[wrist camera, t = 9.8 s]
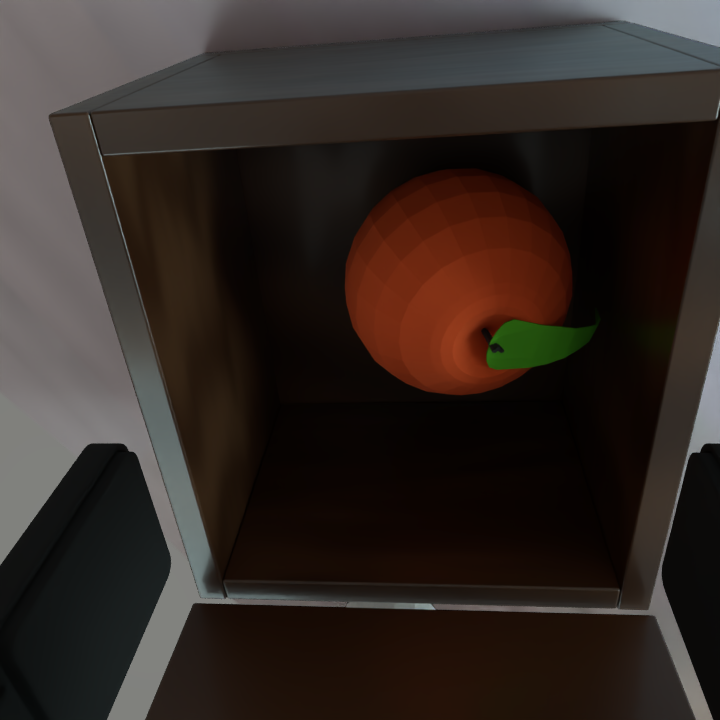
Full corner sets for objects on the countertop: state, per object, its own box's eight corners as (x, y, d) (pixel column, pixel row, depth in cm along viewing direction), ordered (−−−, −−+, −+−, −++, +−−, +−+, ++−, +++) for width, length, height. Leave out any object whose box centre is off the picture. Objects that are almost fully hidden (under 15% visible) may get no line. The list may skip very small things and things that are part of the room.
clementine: (571, 152, 22) (701, 245, 16) (509, 323, 26) (596, 445, 20) (345, 123, 20) (404, 219, 14) (314, 314, 24) (351, 448, 18)
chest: (201, 53, 22) (45, 114, 13) (626, 20, 20) (784, 64, 11) (268, 408, 29) (199, 599, 20) (578, 404, 28) (649, 611, 19)
